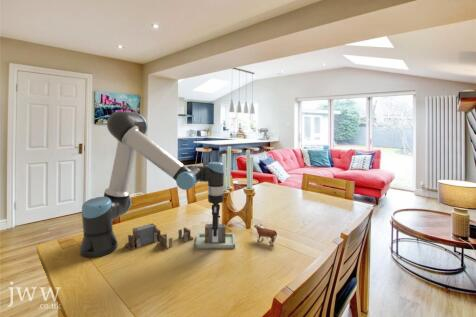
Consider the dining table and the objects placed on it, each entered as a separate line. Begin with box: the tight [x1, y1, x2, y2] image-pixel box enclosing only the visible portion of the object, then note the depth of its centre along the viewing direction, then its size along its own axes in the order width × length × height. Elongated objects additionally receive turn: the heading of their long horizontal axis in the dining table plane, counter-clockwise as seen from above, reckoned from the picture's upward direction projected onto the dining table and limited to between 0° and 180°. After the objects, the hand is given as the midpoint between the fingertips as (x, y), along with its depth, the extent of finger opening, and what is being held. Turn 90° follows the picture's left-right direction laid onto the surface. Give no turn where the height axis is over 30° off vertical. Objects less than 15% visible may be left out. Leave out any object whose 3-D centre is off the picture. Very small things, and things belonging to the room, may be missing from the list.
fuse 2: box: [204, 223, 227, 243], centre depth 124 cm, size 10×4×8 cm, turn 93°
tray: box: [194, 232, 236, 250], centre depth 124 cm, size 19×13×2 cm
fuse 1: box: [132, 222, 157, 248], centre depth 122 cm, size 10×4×8 cm, turn 133°
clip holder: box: [156, 227, 194, 251], centre depth 123 cm, size 16×6×5 cm, turn 133°
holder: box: [124, 227, 161, 251], centre depth 122 cm, size 16×6×5 cm, turn 133°
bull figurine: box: [253, 222, 278, 246], centre depth 125 cm, size 4×13×8 cm, turn 51°
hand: (215, 235), depth 124 cm, fingers open, 12 cm apart
